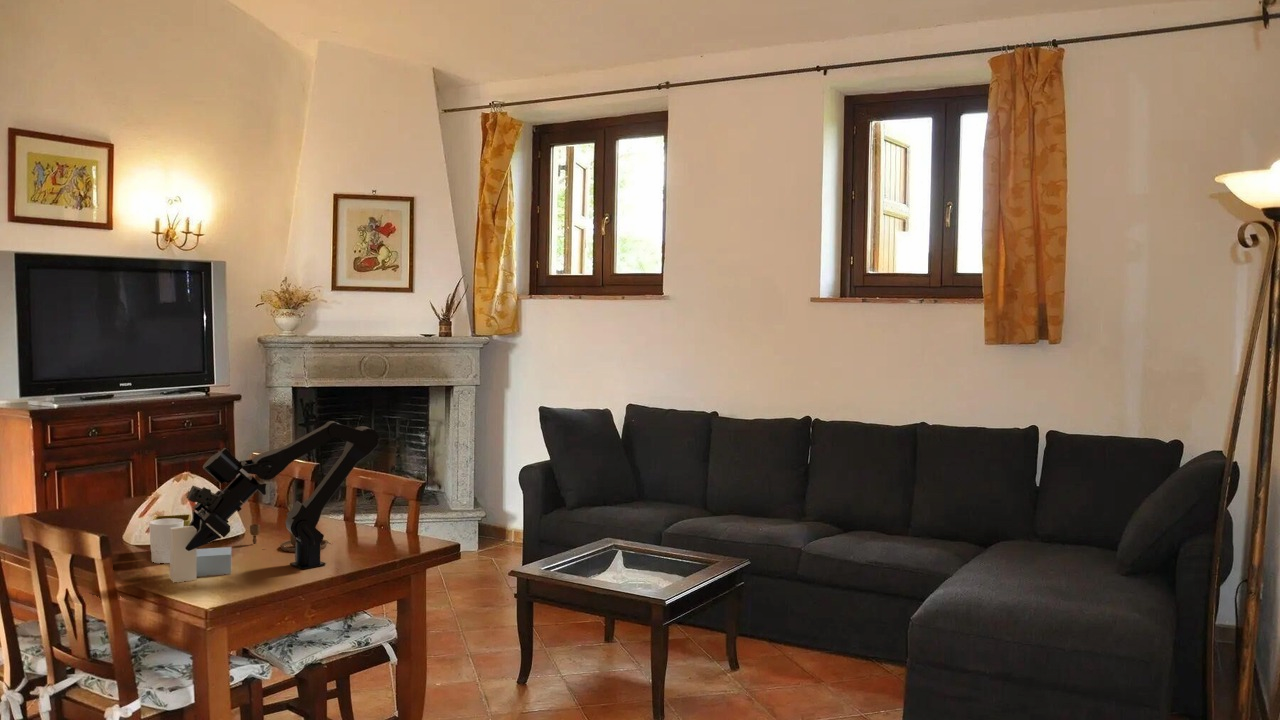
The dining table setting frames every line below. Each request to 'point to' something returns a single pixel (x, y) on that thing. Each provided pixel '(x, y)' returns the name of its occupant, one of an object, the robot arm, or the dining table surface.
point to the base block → (213, 561)
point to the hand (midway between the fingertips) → (183, 545)
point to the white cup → (162, 538)
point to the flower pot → (184, 517)
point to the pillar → (182, 554)
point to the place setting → (255, 531)
